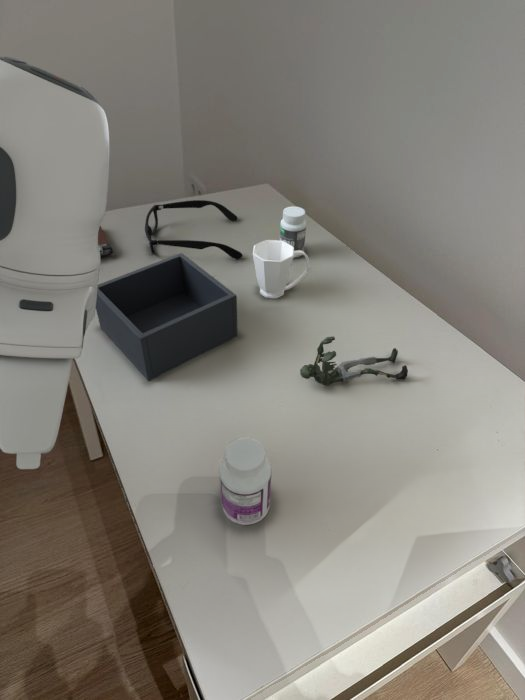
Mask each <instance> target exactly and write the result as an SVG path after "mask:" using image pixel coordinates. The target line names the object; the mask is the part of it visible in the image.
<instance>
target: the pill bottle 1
mask: <svg viewBox="0 0 525 700" xmlns="http://www.w3.org/2000/svg"><path fill="white" fill-rule="evenodd" d="M219 482H220V483H219V484H220V495H221V506H222V510H223V512H224V514H225V516H226V517H227V518H228V519H229V520H230V521H232V522H233V523H235V524H239V525H240V526H241V525H242V526H248V525H253V524H256V523H259V522H260V521H262V520H263V519H264V518H265V517H266V515H267V514H268V513H269V510H270V506H271V492H272V491H271V489H272V466H271V463H270V460H269V458H268V457H267V455H266V450H265V447H264V446H263V444H261V442H260V441H258V440H257V439H255V438H252V437H239V438H237V439H234V440H232V441H231V442H230V443H229V444H228V445H227V447H226V449H225V454H224V457H223V459H222V461H221V463H220V465H219Z"/></svg>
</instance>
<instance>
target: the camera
mask: <svg viewBox="0 0 525 700" xmlns="http://www.w3.org/2000/svg"><path fill="white" fill-rule="evenodd" d="M109 241H110V240H109V238H108V237H107V235H106V233H105V232H104V230H103V228H102V226H101V225H100V227H99V231H98V247H99V252H100V257H101V258H104V257H108V256H111V255H113V254H114V249H113V247H112V245H111V243H110V242H109Z"/></svg>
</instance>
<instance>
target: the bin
mask: <svg viewBox="0 0 525 700" xmlns="http://www.w3.org/2000/svg"><path fill="white" fill-rule="evenodd" d="M95 312H96V315H97V318H98V322H99V327H100V330H101V331H102V332H103V333H104V334H105V335H106V336H107V337H108V338H109V340H111V342H112V343H113V344H114V345H115V346H116V348H118V349H119V350H120V351H121V353H122V354H123V355H124V356H125V357H126V359H128V360H129V362H130V363H131V364H132V365H133V366H134V368H136V370H138V372H139V373H140V374H141V375H142V376H143V377H144V378H145V380H146V381H148V382H150V381H152V380H154V379H156V378H157V377H160V376H161V375H163V374H165V373H167V372H169V371H171V370H174V369H175V368H178V367H179V366H181V365H184V364H186V363H188V362H189V361H191V360H193V359H196V358H197V357H200V356H201V355H203V354H205V353H207V352H209V351H211V350H213V349H215V348H218V347H219V346H221V345H224V344H226V343H228V342H229V341H232V340H233V339H235V338H237V337H238V296H237V294H236V293H235V292H233V291H232V290H230V289H229V288H228V287H227V286H225V285H224V284H223V283H221V282H220V281H219V280H217V278H215V277H214V276H212V275H211V274H210V273H209V272H207V271H206V270H205V269H204V268H202V267H201V266H200V265H198V264H197V263H195V262H194V261H193V260H192V259H191V258H189V257H188V256H187V255H186V254H184V253H183V252H180V253H177V254H175V255H172V256H170V257H167V258H164V259H161V260H159V261H156V262H154V263H151V264H149V265H146V266H143V267H141V268H138V269H135V270H132V271H130V272H127V273H124V274H122V275H119V276H117V277H114V278H112V279H109V280H106V281H103V282H101V283H98V290H97V301H96V310H95Z"/></svg>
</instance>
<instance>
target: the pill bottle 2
mask: <svg viewBox="0 0 525 700" xmlns="http://www.w3.org/2000/svg"><path fill="white" fill-rule="evenodd" d="M279 223H280V226H279V241H284V242H286V243H288V244H289V245H291V246H293V247H294V251H297V250H300V251H303V252H304V253H305V244H306V234H307V233H306V232H307V221H306V210H305V209H304V208H302V207H300V206H294V205H293V206H287V207H285V208H284V209H283V211H282V219H281V220H280V222H279ZM301 256H302V255H297V256H295V257H293V259H295V258H299V257H301Z"/></svg>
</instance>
